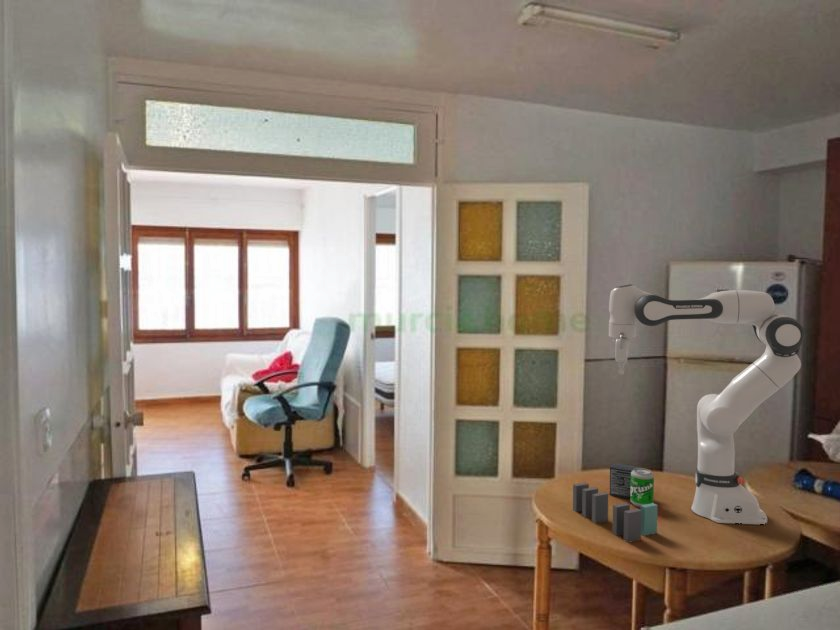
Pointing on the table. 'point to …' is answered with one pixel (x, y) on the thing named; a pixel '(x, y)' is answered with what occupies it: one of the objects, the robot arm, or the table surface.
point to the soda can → (641, 487)
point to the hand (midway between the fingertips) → (621, 371)
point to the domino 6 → (649, 519)
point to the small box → (621, 480)
